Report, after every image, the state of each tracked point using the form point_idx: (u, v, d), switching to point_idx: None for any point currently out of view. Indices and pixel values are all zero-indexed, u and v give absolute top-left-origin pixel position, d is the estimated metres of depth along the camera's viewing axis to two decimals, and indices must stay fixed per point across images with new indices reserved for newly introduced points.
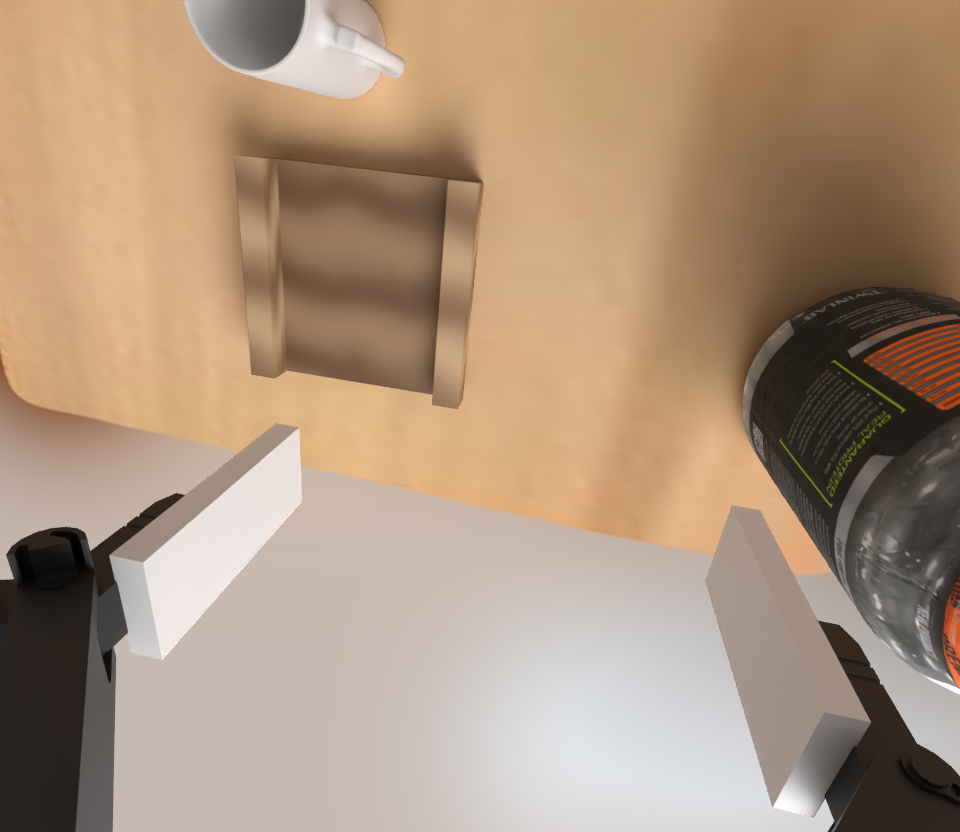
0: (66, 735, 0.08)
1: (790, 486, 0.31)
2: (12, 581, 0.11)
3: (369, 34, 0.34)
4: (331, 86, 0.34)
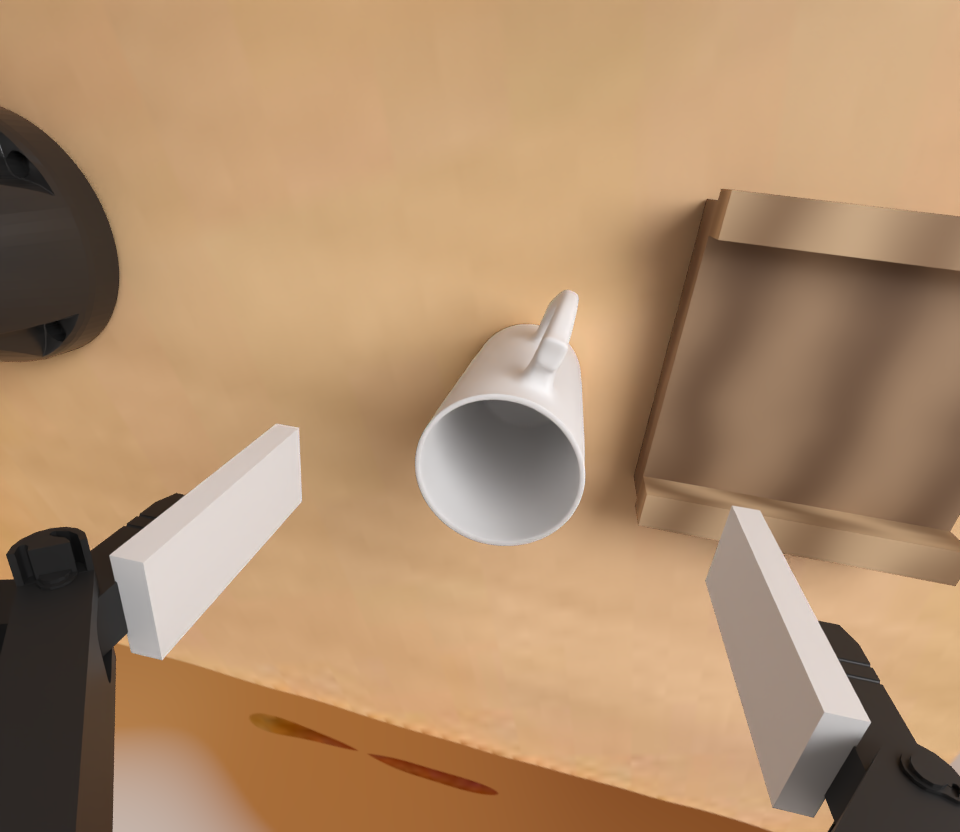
0: (67, 734, 0.08)
1: None
2: (12, 581, 0.11)
3: (524, 338, 0.28)
4: (580, 391, 0.26)
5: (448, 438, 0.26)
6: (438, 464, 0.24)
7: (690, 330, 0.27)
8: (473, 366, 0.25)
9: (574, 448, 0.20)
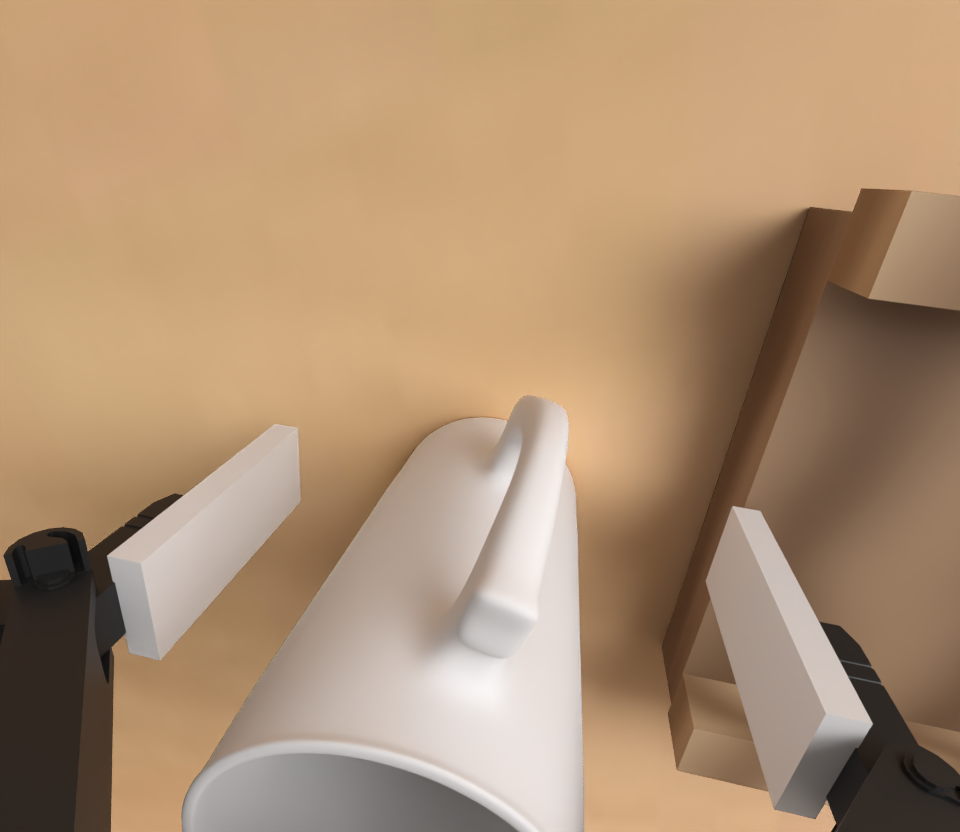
0: (64, 735, 0.08)
1: None
2: (10, 582, 0.11)
3: (472, 462, 0.15)
4: (574, 575, 0.14)
5: None
6: (278, 768, 0.11)
7: (779, 452, 0.14)
8: (360, 546, 0.12)
9: None
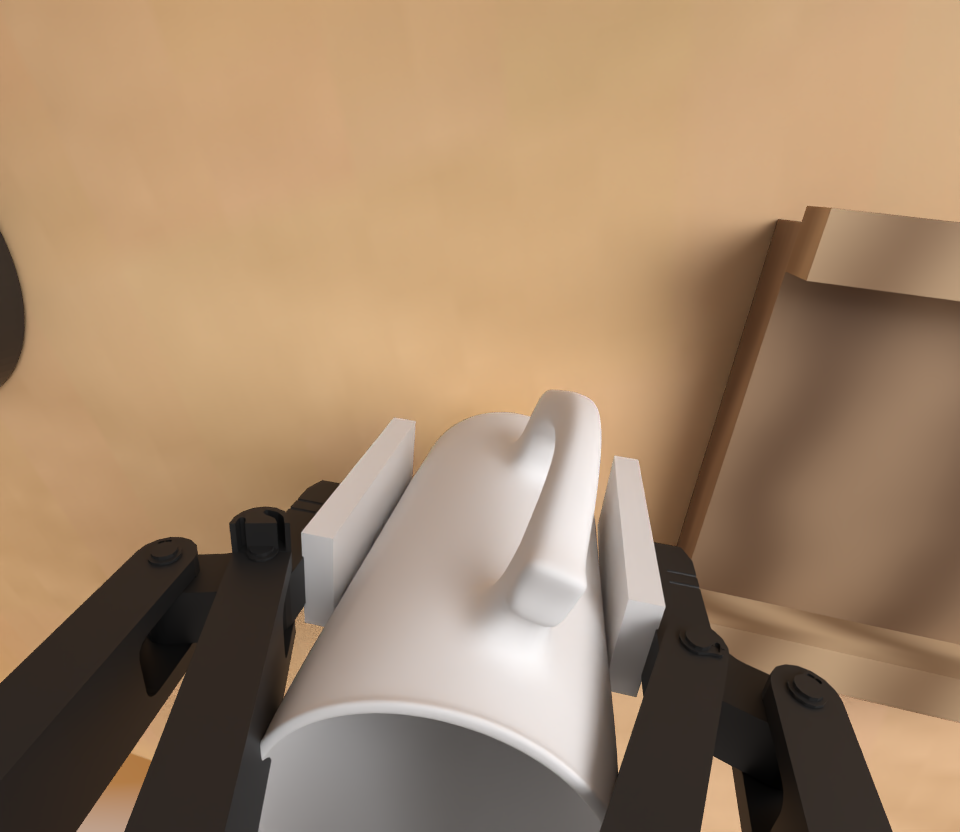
0: (241, 706, 0.08)
1: None
2: (214, 555, 0.12)
3: (496, 454, 0.16)
4: (596, 561, 0.15)
5: None
6: (321, 741, 0.12)
7: (754, 400, 0.19)
8: (396, 531, 0.13)
9: (601, 822, 0.08)
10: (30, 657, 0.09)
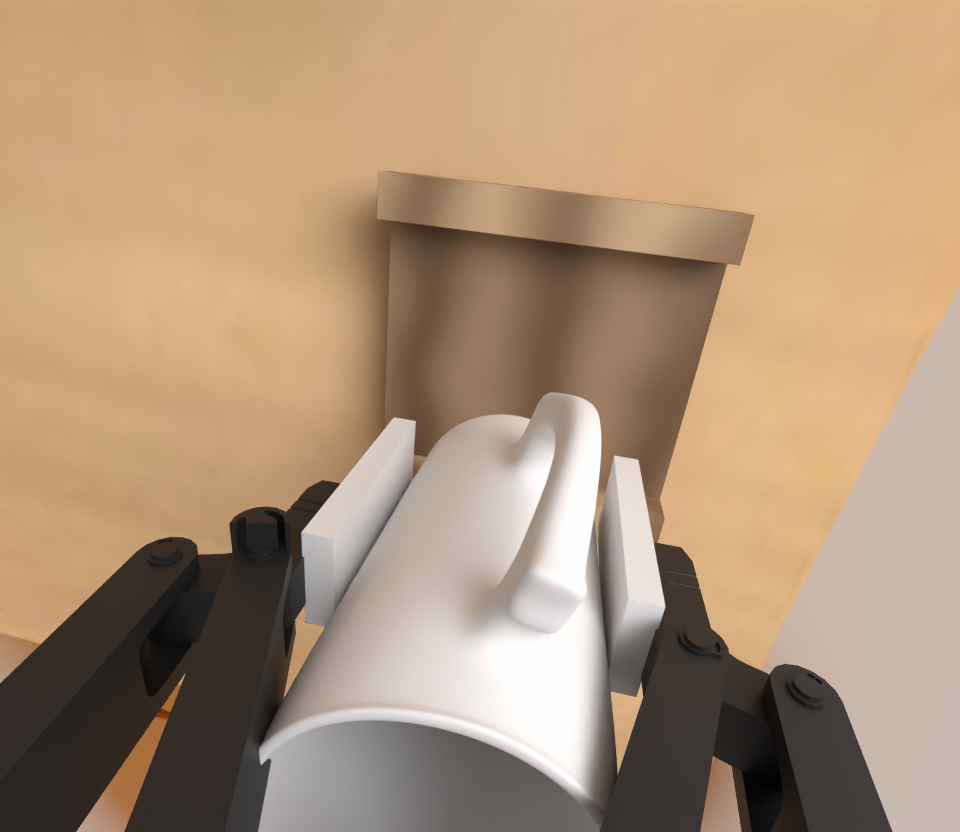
0: (241, 706, 0.08)
1: None
2: (214, 556, 0.12)
3: (496, 457, 0.16)
4: (596, 565, 0.14)
5: None
6: (319, 746, 0.12)
7: (394, 307, 0.28)
8: (395, 535, 0.13)
9: None
10: (29, 658, 0.09)
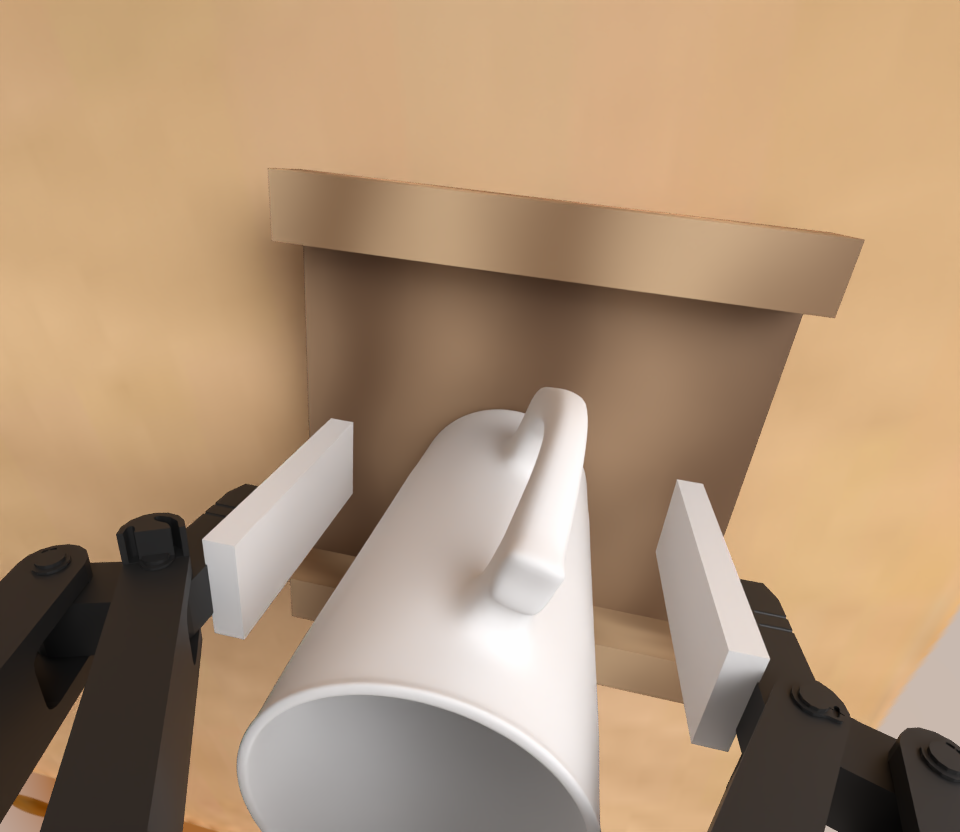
0: (151, 715, 0.08)
1: None
2: (111, 564, 0.12)
3: (491, 450, 0.16)
4: (587, 556, 0.15)
5: None
6: (315, 725, 0.12)
7: (316, 363, 0.20)
8: (390, 524, 0.13)
9: (578, 804, 0.09)
10: None
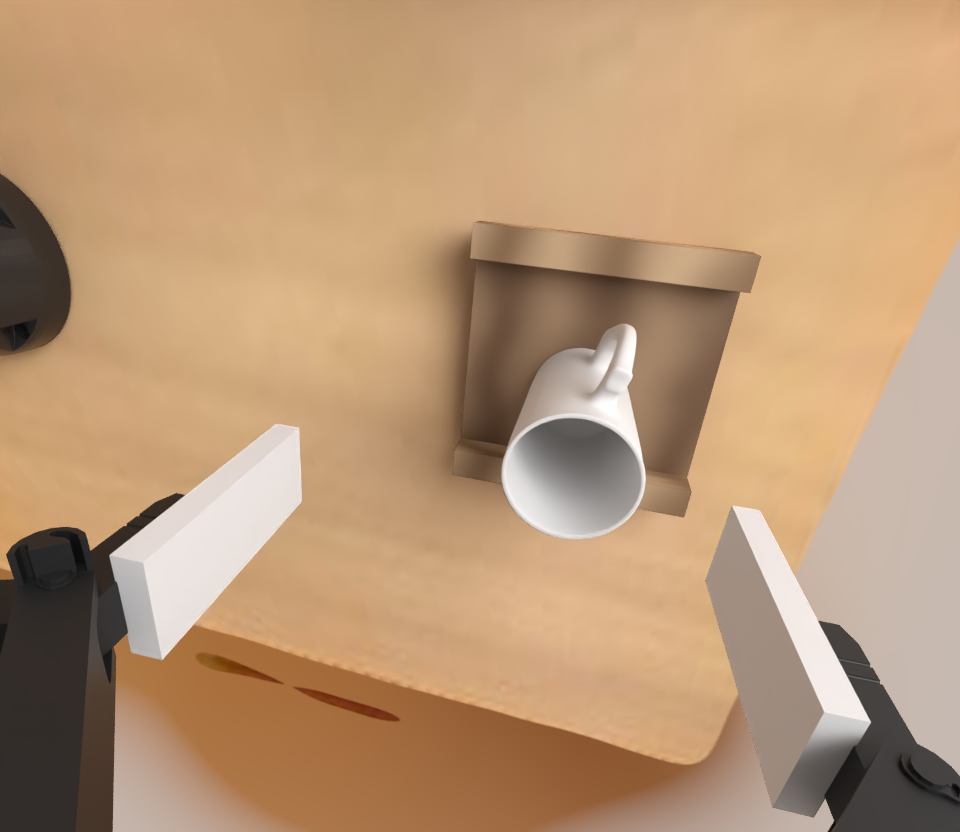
0: (67, 734, 0.08)
1: None
2: (12, 581, 0.11)
3: (582, 361, 0.32)
4: (631, 408, 0.31)
5: (519, 448, 0.30)
6: (515, 470, 0.28)
7: (476, 324, 0.36)
8: (542, 387, 0.29)
9: (637, 458, 0.25)
10: None
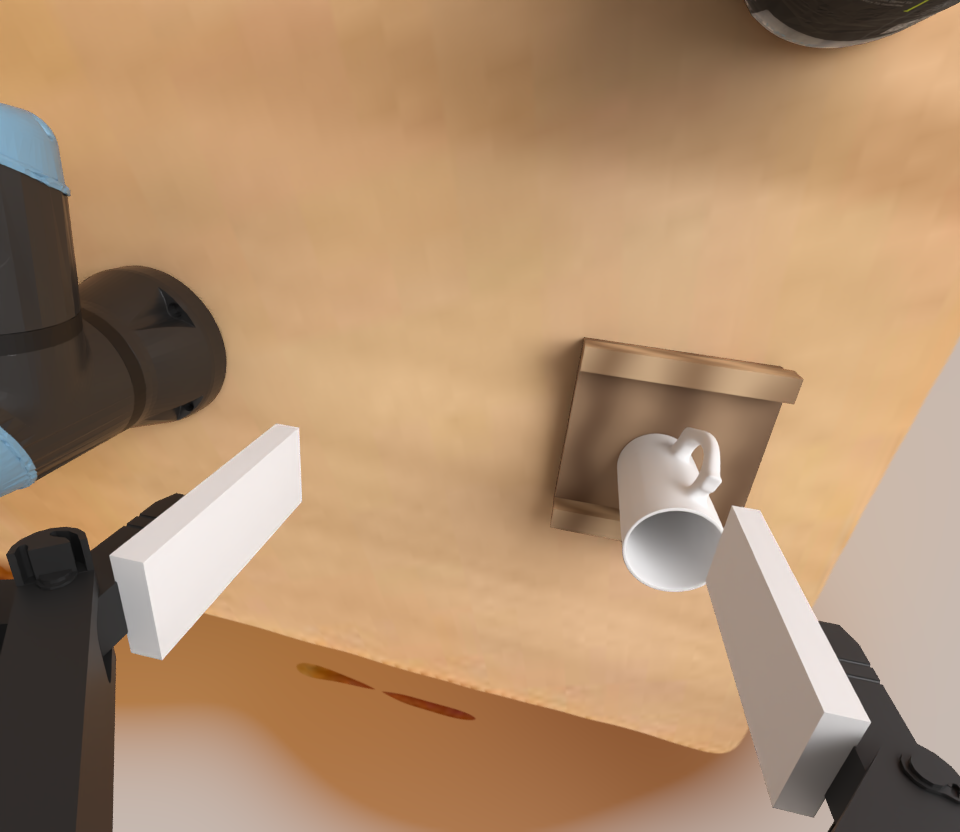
0: (66, 734, 0.08)
1: None
2: (12, 581, 0.11)
3: (665, 450, 0.42)
4: None
5: None
6: None
7: (575, 413, 0.46)
8: (642, 475, 0.40)
9: None
10: None
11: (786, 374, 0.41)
